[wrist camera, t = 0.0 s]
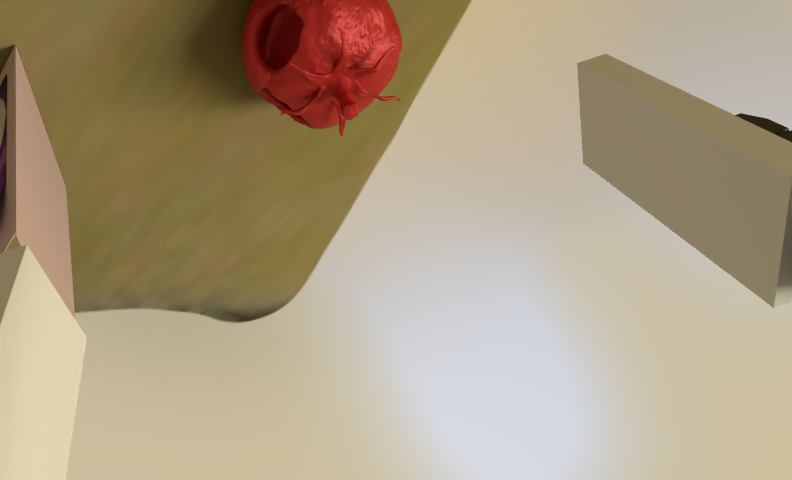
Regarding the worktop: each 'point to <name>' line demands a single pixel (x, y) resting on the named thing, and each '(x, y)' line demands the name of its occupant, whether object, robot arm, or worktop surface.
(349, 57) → the pomegranate
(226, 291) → the worktop surface
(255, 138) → the worktop surface
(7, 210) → the greeting card
